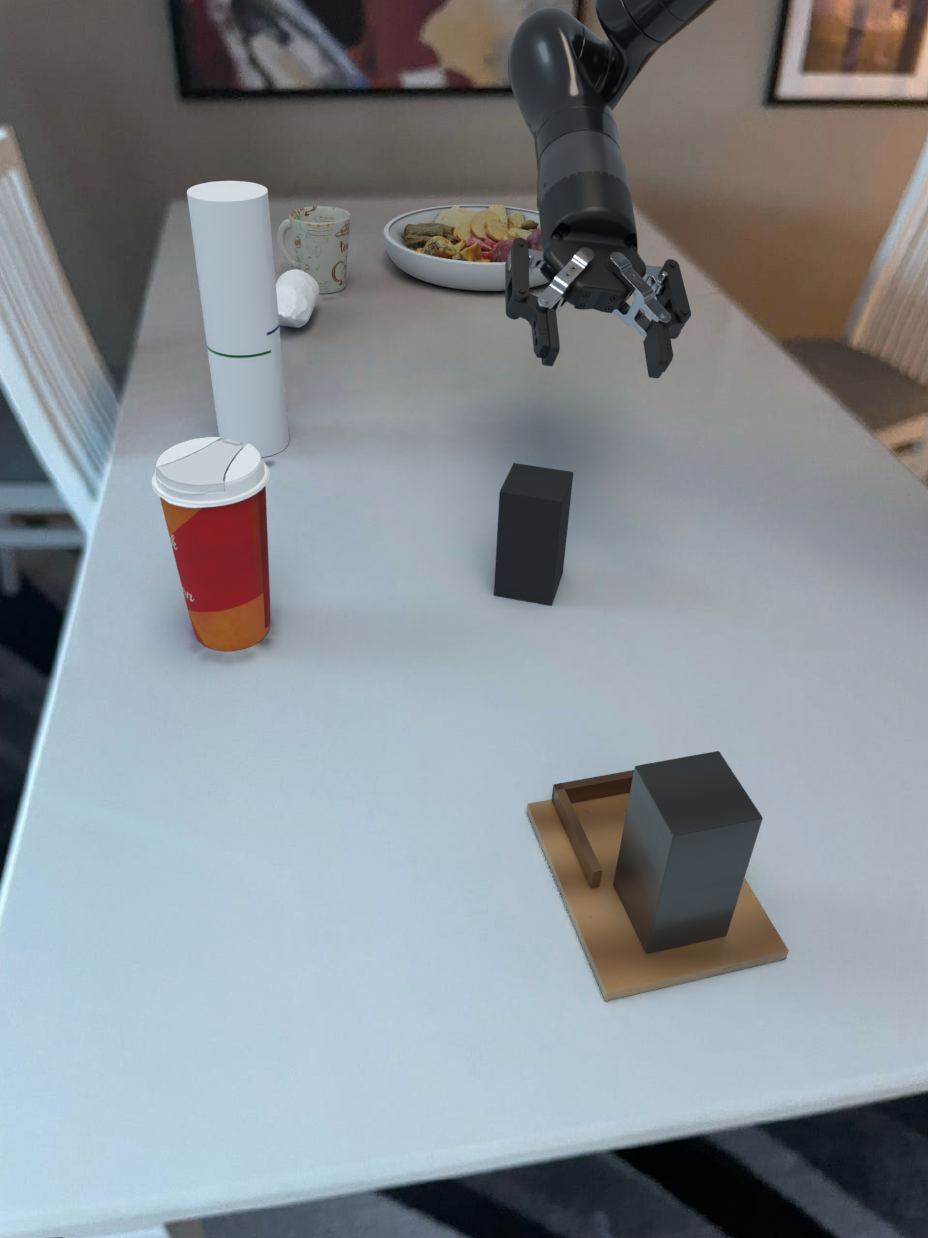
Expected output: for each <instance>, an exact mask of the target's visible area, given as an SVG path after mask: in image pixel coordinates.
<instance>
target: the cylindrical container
mask: <svg viewBox="0 0 928 1238" xmlns="http://www.w3.org/2000/svg"><path fill="white" fill-rule="evenodd" d="M186 196H187V197H186V198H187V203H188V211H189V213H188V214H189V219H190V228H191V236H192V242H193V243H192V244H193V249H194V250H193V251H194V258H195V266H196V272H197V273H196V274H197V280H198V289H199V296H200V297H199V298H200V304H201V311H202V319H203V327H204V334H205V340H206V341H205V342H206V349H207V357H208V364H209V371H210V379H211V388H212V394H213V402H214V408H215V409H214V410H215V416H216V417H215V418H216V424H217V430H218V437H221V438H222V440H223V441H225V440H226V439H230V440H234V441H239V442H242V444H241V445H247V444H248V443H249V444H251V445H252V446H254V447H255V448H256V449H257V450H258V452H259V453H260V455H261V457H262V458H267V457H271V456H274V455H276V454H279V453H281V452H282V451H285V449H286V448H287V447H288V446H289V444H290V434H289V422H288V421H289V420H288V411H287V400H286V399H287V398H286V388H285V387H286V386H285V377H284V363H283V353H282V341H281V340H282V339H281V328H280V325H279V316H278V304H277V293H276V282H277V280H276V271H275V270H276V269H275V261H274V260H275V259H274V247H273V236H272V223H271V213H270V202H269V201H270V200H269V189H268V188H267V187H266V186H265V185H263V184H259V183H256V182H251V181H243V180H217V181H208V182H203V183H199V184H196V185H192V186H191V187H189V188H188V189H187V190H186Z"/></svg>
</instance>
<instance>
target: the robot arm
mask: <svg viewBox="0 0 928 1238" xmlns="http://www.w3.org/2000/svg"><path fill="white" fill-rule="evenodd" d="M717 2H718V0H594V8H595V13H596V16H597V20H598V22H599V24H600V27H601V29H602V30H603V32H604V34H605V36H606V37H607V39H605V40H604V39H602V38H601V37H600V36H598V35H597V34H596V33H594V31H592V30H590V29H589V28H588V27H587V26H586V25H584V23H582V22H581V21H580V20H578V19H577V18H576V17H575V16H573V15H572V13H569V12H568V11H566V10H564V9H562V8H559V7H556V6H555V7H554V6H546V7H545V6H544V7H541V8H538V9H536V10H534V11H532V12H530V14H529V15H527V16H526V17H525V18H523V20H522V22H521V23H520V24H519V25H518V27H517V28H516V30H515V32H514V35H513V37H512V39H511V43H510V46H509V52H508V57H507V58H508V60H507V71H508V72H507V73H508V79H509V83H510V87H511V90H512V94H513V97H514V99H515V101H516V105H517V106H518V108H519V111H520V113H521V115H522V118H523V120H524V123H525V125H526V127H527V129H528V131H529V133H530V135H531V137H532V138H533V140H534V151H535V160H536V169H537V177H536V208H537V211H538V212H539V218H540V228H541V237H542V246H543V251H539V250H534V249H529V248H528V242H527V241H526V240H525V239H523V238H516V239H514V241H513V244H512V247H511V249H510V252H509V255H508V258H507V261H506V264H505V291H504V293H505V295H504V297H505V302H504V303H505V304H504V305H505V315H506V317H508V318H509V319H511V320H518V319H520V318H521V319H523V320H525V321H527V322H528V324H529V326H530V328H531V336H532V345H533V346H532V347H533V353H534V355H535V357H536V358H537V359H541V365H542V366H544V367H553V366H554V365H555V363H556V360H557V358H558V356H559V353H560V350H561V349H560V347H561V346H560V333H559V326H558V317H557V314H558V313H559V312H560V311H561V310H562V309H563V308H564V307H565V306H566V305H567V304H569V305H572V306H573V307H574V310H582V311H585V310H595V311H598V312H601V313H605V314H606V313H607V314H613V313H614V314H615V315H616V316H617V317H618V318H619V319H620V320H621V321H622V322H623V324H624V325H626V326H627V327H630V326H632V327H633V328H635V330H636V331H638V333H639V334H640V335H641V336H643V338H644V340H643V341H642V343H643V350H644V355H645V357H644V358H645V363H646V369H647V377H648V378H650V379H660V378H661V377H662V375H663V374H664V373H665V372H666V371H667V369H668V368H669V366H670V364H671V363H672V361H673V358H674V350H673V346H672V345H673V343H672V340H675V339H678V337H679V336H680V335H681V332H682V330H683V328H684V327H685V325H686V323H688V321H689V320H690V318H691V316H692V311H691V307H690V303H689V300H688V295H687V291H686V287H685V283H684V279H683V274H682V270H681V267H680V263H679V262H678V261H677V260H675V259H672V258H668V259H666V260H665V261H664V264H663V265H662V266H658V265H648V264H646V263H645V261H644V260H643V259H642V257H641V256H640V254H639V249H638V245H639V243H638V232H637V225H636V218H635V213H634V205H633V200H632V195H631V194H632V193H631V187H630V182H629V181H630V180H629V176H628V171H627V167H626V165H625V162H624V160H623V156H622V151H621V145H620V139H619V132H618V126H617V121H616V118H615V114H614V113H613V111H614V109H615V108H616V107H617V105H618V104H619V102H620V101H621V99H622V98H623V97H624V95H625V93H626V92H627V91H628V89H629V87H630V86H631V85H632V84H633V82H634V81H635V80H636V79H637V77H638V76H639V74H640V73H641V72H642V71H643V70H644V68H645V67H646V65H647V64H648V63H649V62H650V61H651V59H652V58H653V57H654V55H655V54H656V53H657V52H658V50H659V49H660V48H662V47H663V46H664V45H665V44H667V43H668V42H669V41H670V40H671V39H673V38H674V37H676V36H677V35H678V34H679V33H680V32H682V31H683V30H684V29H685V28H687V27H688V26H689V25H690V24H692V23H693V22H694V21H695V20H697V19H698V18H699V17H700V16H702V15H703V14H704V13H705V12H706V11H707V10H709V9H710V8H711V7H712V6H713V5H714V4H716V3H717ZM537 268H540V271H541V273H542V275H543V276H544V277H545V278H546V279H547V280H548V281H549V285H548V286H547V287H546V288H545V289H544V290H543V291H542V292H541V294H539V295H538V296H537V295H534V294H531V293H530V288H529V277H530V276H531V275H532V274H533V271H534V269H537ZM632 295H633V296H634V300H633V302H632V304H631V305H630V304H629V303H628V300H629V299H630V298H631V296H632ZM646 314H647V315H648V316H649V317H650V318H651V320H650V319H649V318H648V317H647V316H646Z"/></svg>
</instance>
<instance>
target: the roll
mask: <svg viewBox="0 0 928 1238" xmlns="http://www.w3.org/2000/svg"><path fill="white" fill-rule="evenodd" d="M276 293H277V304H278V316H279V326H281V327H282V326H283V327H289V328H296V329H298V328H302V327H303V326H306V325H307V323H308V322H309V320H310V318H311V316H312V314H313V312H314V309H315V307H316V305H317V302H318V300H319V296H320V293H319V286H318V284H317V282H316V281H315V279H314V278H313V277H311V276H310V275H309V274H307V273H306V272H303V271H301V270H299V269H298V268H294V269H289V270H286V271H284V272H283V273H282V274H280V276H279V277H278V278H277V280H276Z"/></svg>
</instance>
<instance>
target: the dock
mask: <svg viewBox="0 0 928 1238" xmlns="http://www.w3.org/2000/svg"><path fill="white" fill-rule="evenodd" d="M551 793H552V794H551V799H545V800H540V801H534V802H530V803H527V805H526V814H527V816H528V818H529V821H530V823H531V826H532V828H533V831H534V833H535V835H536V836H535V837H536V838H537V840H538V842H539V845H540V848H541V850H542V853H543V854H544V857H545V860H546V862H547V865H548V867H549V870H550V871H551V874H552V876H553V879H554V882H555V883H556V887H557V888H558V891H559V893H560V896H561V898H562V901H563V903H564V906H565V909H566V911H567V913H568V915H569V918H570V920H571V922H572V924H573V927H574V929H575V932H576V934H577V937H578V939H579V942H580V943H581V946H582V949H583V951H584V954H585V956H586V958H587V961H588V963H589V965H590V966H589V967H590V969H591V970H592V973H593V975H594V978H595V981H596V982H597V986H598V988H599V990H600V992H601V995H602V997H603V1000H604V1001H605V1002H610V1001H612V1000H617V999H621V998H625V997H630V996H634V995H638V994H642V993H646V992H650V991H651V992H652V991H656V990H659V989H663V988H668V987H672V986H676V985H682V984H685V983H689V982H693V981H698V980H702V979H706V978H711V977H714V976H715V977H716V976H718V975H723V974H728V973H732V972H737V971H739V970H740V971H741V970H745V969H749V968H753V967H757V966H761V965H765V964H770V963H774V962H779V961H782V960H783V961H784V960H786V959H787V957H788V954H789V953H790V952H789V951H790V950H789V948H788V947H787V945H786V943H785V942H784V940H783V939H782V937H781V935H780V933H779V932H778V930H777V929H776V927H775V925H774V923H773V922H772V920H771V919H770V917H769V915H768V914H767V912H766V910H765V909H764V907H763V905H762V904H761V902H760V901H759V899H758V897H757V895H756V893H755V892H754V890H753V889H752V887H751V886H750V884H749V882H748V881H747V879H746V874H747V871H748V868H749V865H750V861H751V859H752V855H753V852H754V849H755V845H756V842H757V839H758V836H759V832H760V829H761V826H762V822H763V815H762V814H761V812H760V811H759V810H758V808H757V806H756V805H755V803H754V802H753V800H752V799H751V797H750V795H749V794H748V793H747V791H746V790H745V788H744V787H743V785H742V784H741V782H740V780H739V779H738V778H737V776H736V774H735V773H734V772H733V770H732V768H731V766H729V764H728V763H727V761H726V759H725V758H724V756H723V755H722V753H721V751H719V750H716V751H710V752H703V753H699V754H694V755H693V754H692V755H688V756H683V757H682V756H681V757H677V758H672V759H666V760H665V759H664V760H660V761H653V762H649V763H644V764H638V765H637V764H636V765H635V766H634V769H632V770H631V769H630V770H626V771H619V772H614V773H608V774H603V775H598V776H592V777H586V778H582V779H581V778H580V779H576V780H570V781H565V782H559V783H553V785H552V790H551Z"/></svg>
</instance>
